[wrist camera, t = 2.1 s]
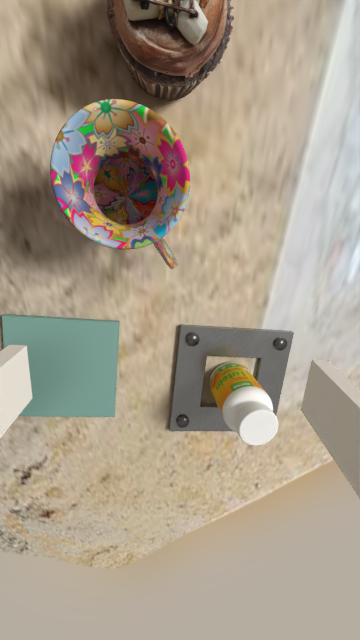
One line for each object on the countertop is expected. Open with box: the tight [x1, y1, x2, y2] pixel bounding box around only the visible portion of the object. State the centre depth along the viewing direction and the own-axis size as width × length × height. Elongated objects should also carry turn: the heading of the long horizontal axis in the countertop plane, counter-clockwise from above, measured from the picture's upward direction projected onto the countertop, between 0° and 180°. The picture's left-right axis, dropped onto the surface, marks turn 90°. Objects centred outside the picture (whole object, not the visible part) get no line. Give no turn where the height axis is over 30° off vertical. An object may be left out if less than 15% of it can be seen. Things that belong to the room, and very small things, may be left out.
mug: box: [50, 99, 190, 269], centre depth 25 cm, size 12×9×11 cm
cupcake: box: [107, 0, 234, 101], centre depth 22 cm, size 10×10×10 cm
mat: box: [2, 314, 119, 417], centre depth 34 cm, size 12×12×1 cm
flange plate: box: [169, 325, 294, 431], centre depth 37 cm, size 14×14×1 cm
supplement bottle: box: [209, 362, 278, 445], centre depth 33 cm, size 5×5×10 cm
